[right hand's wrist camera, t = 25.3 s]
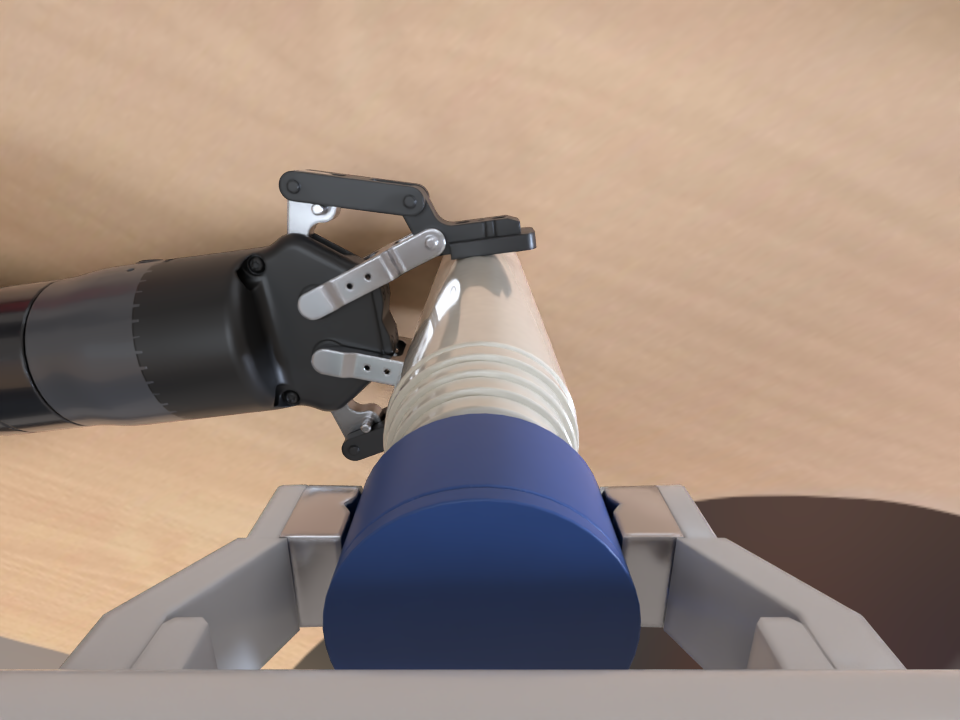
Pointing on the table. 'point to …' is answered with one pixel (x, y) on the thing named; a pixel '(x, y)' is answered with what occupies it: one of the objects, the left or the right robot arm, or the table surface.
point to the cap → (481, 558)
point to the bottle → (480, 354)
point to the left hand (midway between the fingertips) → (537, 296)
